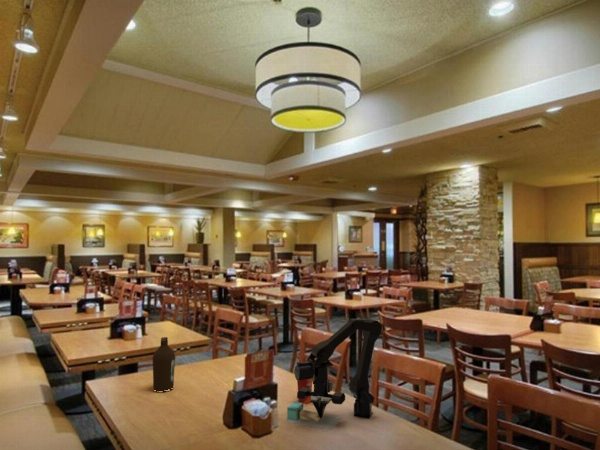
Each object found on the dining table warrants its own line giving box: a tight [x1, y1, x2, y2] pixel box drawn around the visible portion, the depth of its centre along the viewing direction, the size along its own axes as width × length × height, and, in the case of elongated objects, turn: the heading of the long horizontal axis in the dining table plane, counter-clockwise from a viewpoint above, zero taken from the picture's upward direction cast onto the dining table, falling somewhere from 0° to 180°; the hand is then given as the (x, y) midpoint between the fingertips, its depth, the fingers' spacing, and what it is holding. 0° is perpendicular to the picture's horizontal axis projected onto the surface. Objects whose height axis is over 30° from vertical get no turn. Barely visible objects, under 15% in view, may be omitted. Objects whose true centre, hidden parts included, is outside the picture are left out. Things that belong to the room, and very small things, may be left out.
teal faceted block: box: [286, 401, 304, 420], centre depth 171 cm, size 4×7×4 cm, turn 156°
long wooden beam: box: [298, 409, 320, 422], centre depth 169 cm, size 9×3×3 cm, turn 67°
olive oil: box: [152, 336, 176, 391], centre depth 206 cm, size 11×11×25 cm
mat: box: [284, 414, 343, 431], centre depth 168 cm, size 20×12×1 cm, turn 66°
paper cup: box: [296, 378, 313, 405], centre depth 188 cm, size 8×8×14 cm
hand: (321, 417), depth 167 cm, fingers closed
